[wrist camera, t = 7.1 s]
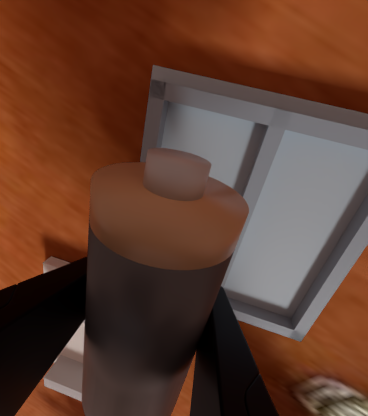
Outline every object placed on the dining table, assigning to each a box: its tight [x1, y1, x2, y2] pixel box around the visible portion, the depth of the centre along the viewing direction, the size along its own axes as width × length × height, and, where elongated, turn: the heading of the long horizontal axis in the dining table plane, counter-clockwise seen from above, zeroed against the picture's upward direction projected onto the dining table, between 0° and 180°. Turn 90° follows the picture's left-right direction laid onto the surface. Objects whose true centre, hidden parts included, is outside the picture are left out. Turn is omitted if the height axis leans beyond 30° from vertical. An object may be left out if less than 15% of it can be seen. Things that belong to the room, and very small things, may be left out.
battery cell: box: [82, 148, 249, 416], centre depth 8 cm, size 10×4×4 cm, turn 167°
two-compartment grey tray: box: [140, 65, 368, 342], centre depth 15 cm, size 15×14×2 cm
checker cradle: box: [43, 256, 85, 401], centre depth 23 cm, size 15×8×4 cm, turn 167°
